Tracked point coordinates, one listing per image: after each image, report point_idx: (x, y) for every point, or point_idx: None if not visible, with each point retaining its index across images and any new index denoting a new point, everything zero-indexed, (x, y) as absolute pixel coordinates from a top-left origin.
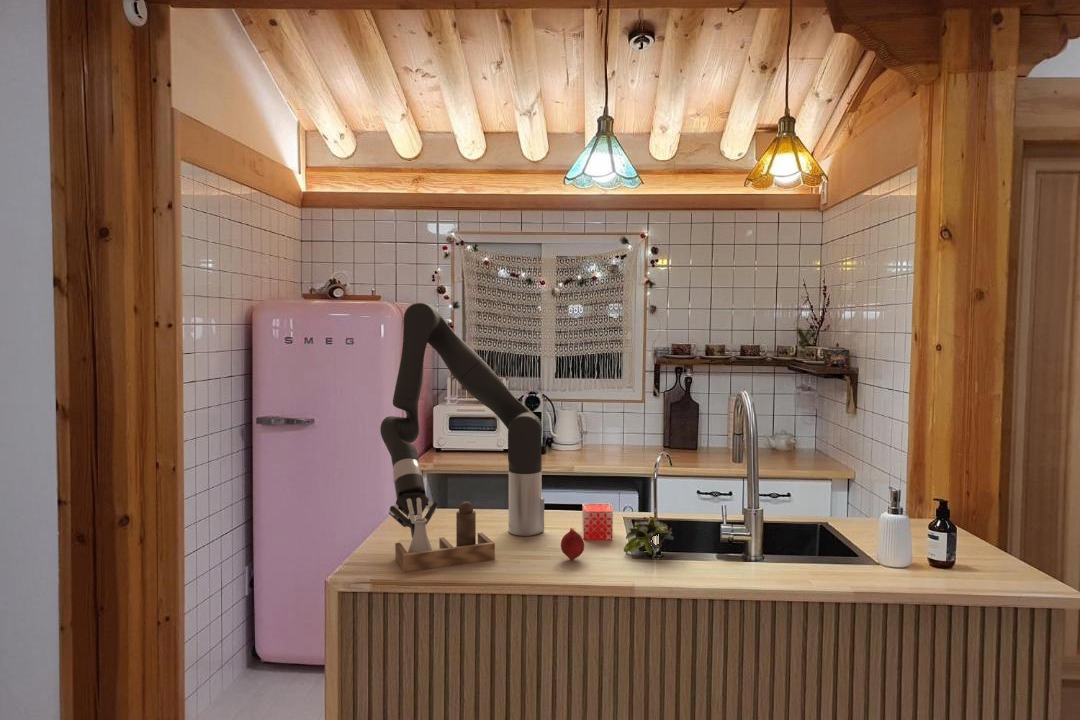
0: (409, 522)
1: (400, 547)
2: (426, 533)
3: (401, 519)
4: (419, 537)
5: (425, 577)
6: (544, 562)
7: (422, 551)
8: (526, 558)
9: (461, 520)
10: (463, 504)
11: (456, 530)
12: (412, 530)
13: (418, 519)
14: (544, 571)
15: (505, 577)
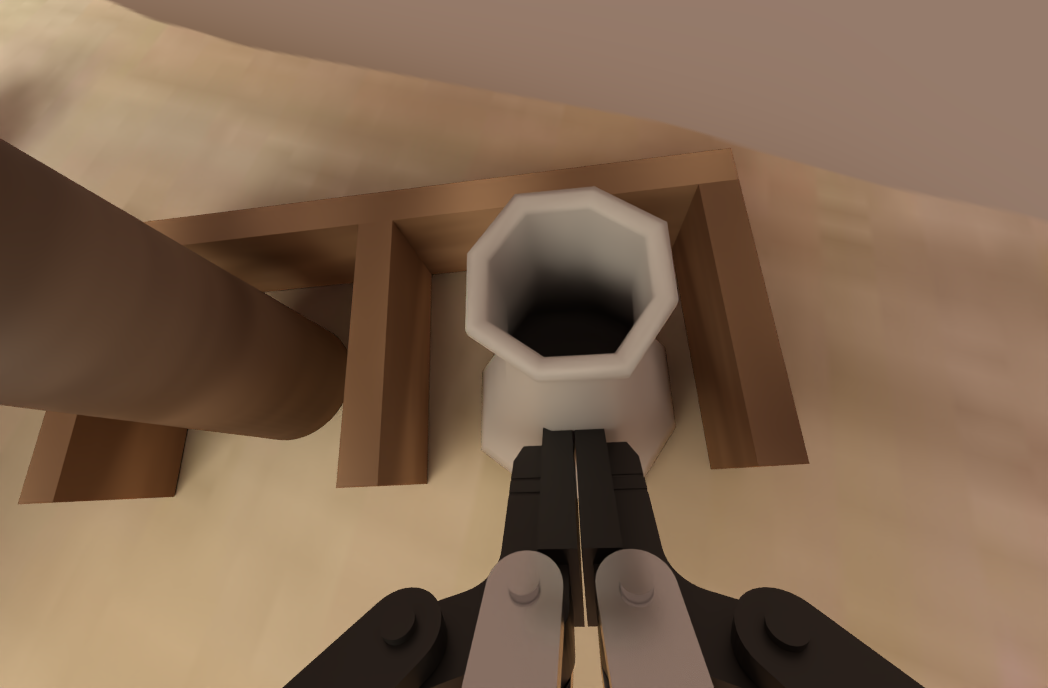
0: (701, 617)
1: (756, 325)
2: (508, 327)
3: (893, 681)
4: (589, 292)
5: (591, 133)
6: None
7: None
8: None
9: (80, 190)
10: None
11: (214, 336)
12: (645, 494)
13: (584, 357)
14: (110, 97)
15: (269, 71)
